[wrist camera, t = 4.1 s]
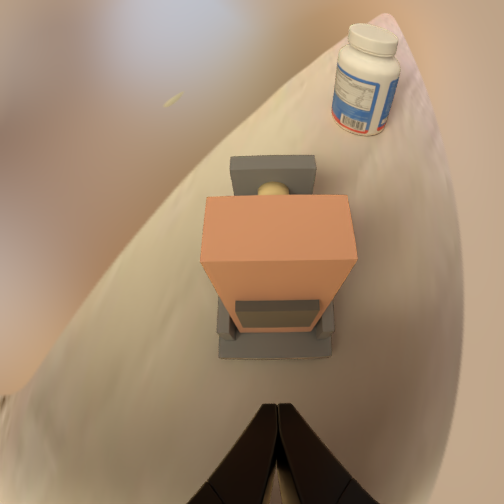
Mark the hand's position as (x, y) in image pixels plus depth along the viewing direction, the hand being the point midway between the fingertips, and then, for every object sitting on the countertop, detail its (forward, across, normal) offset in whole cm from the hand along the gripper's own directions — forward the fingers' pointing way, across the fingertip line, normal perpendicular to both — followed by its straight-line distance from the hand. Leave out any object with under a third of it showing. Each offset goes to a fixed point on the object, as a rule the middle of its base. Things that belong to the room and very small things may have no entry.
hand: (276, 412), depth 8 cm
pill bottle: (+23, +9, +10) cm, 27 cm away
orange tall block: (+9, 0, -2) cm, 9 cm away
